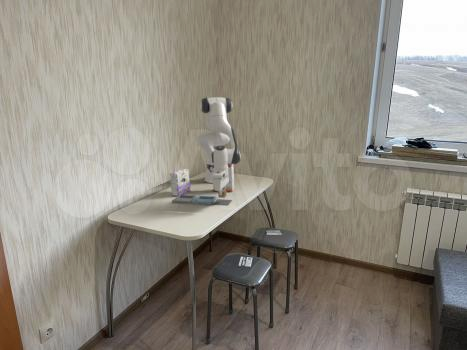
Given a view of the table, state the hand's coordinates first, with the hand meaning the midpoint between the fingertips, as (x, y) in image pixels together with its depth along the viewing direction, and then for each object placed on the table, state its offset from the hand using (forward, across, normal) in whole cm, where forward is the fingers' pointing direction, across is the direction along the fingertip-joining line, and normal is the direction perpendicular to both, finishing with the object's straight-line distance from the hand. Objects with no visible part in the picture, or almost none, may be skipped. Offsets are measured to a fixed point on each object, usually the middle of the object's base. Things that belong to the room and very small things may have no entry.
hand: (222, 193), depth 220 cm
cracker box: (+7, -26, -7) cm, 28 cm away
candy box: (+7, -15, -35) cm, 39 cm away
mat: (+6, 0, 0) cm, 7 cm away
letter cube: (+2, 0, 0) cm, 2 cm away
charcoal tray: (+6, 0, -26) cm, 27 cm away
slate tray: (+6, 0, -12) cm, 14 cm away
